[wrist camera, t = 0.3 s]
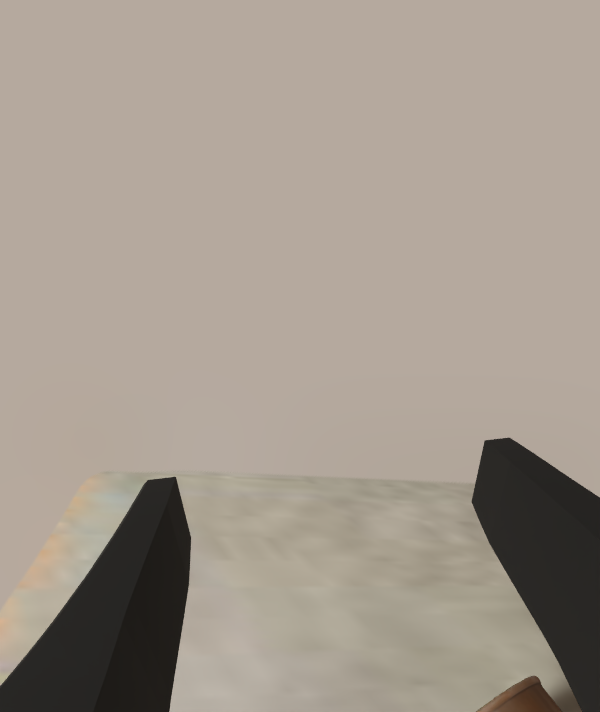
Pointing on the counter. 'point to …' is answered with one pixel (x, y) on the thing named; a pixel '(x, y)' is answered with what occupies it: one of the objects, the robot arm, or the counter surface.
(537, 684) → the tin
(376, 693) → the counter surface
